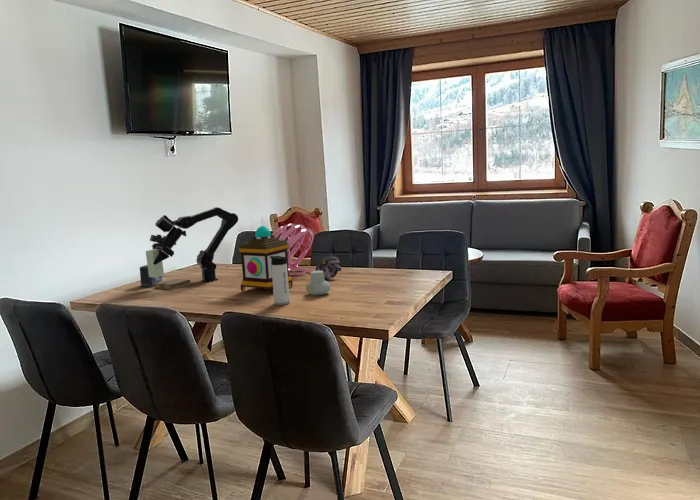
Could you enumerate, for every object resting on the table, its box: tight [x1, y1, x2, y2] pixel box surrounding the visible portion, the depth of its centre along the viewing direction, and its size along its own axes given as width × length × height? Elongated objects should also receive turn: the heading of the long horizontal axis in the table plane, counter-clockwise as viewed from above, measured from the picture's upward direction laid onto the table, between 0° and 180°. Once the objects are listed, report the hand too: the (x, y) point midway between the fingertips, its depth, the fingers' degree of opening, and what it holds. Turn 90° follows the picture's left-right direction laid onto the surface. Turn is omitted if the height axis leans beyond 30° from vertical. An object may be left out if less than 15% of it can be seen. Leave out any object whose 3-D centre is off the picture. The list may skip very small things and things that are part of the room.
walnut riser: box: [154, 278, 192, 291], centre depth 280 cm, size 12×12×2 cm
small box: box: [139, 264, 163, 288], centre depth 285 cm, size 11×6×10 cm, turn 168°
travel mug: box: [270, 256, 290, 306], centre depth 230 cm, size 6×7×20 cm
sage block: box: [145, 249, 165, 278], centre depth 273 cm, size 5×5×13 cm
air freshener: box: [305, 270, 332, 296], centre depth 245 cm, size 11×8×10 cm
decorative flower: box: [314, 255, 342, 282], centre depth 280 cm, size 14×12×15 cm
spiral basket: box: [271, 223, 315, 277], centre depth 295 cm, size 28×28×27 cm
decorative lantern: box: [237, 225, 294, 296], centre depth 258 cm, size 20×20×30 cm
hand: (152, 263), depth 273 cm, fingers closed on sage block, 6 cm apart
